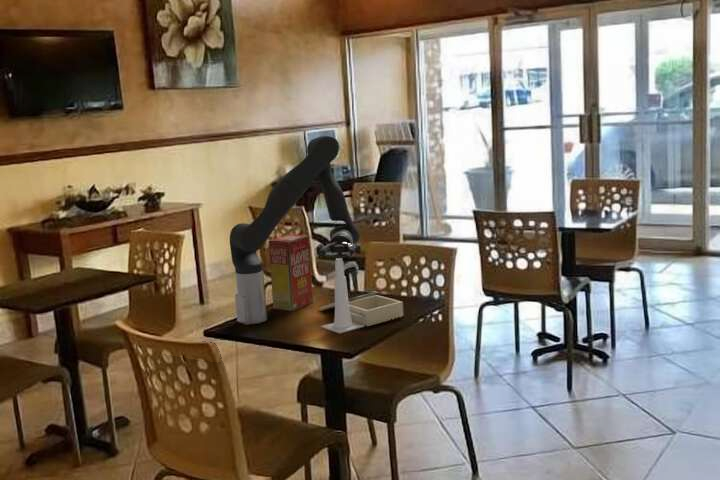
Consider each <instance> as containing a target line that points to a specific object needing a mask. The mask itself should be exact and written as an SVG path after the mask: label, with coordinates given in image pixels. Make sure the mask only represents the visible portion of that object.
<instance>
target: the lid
mask: <svg viewBox="0 0 720 480" xmlns="http://www.w3.org/2000/svg"><path fill="white" fill-rule="evenodd" d="M370 293H371V292H370ZM370 293H368V294H370ZM372 293H374V292H372ZM366 294H367V293H366ZM366 294H364V295H366ZM371 296H374V295H371ZM367 297H370V296H367ZM363 298H366V297H363ZM359 299H362V298H359ZM355 300H358V299H355ZM351 301H354V300H351ZM349 302H350V301H349ZM333 307H335V301H334V302H332V303H329V304H326V305H322V306H319V310H320V311H321V310H325V309H328V308H329V309H330V308H333Z"/></svg>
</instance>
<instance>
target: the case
mask: <svg viewBox="0 0 720 480" xmlns="http://www.w3.org/2000/svg"><path fill="white" fill-rule="evenodd" d="M371 295H373V296H371ZM367 296H369V297H367ZM363 297H366V298H363ZM359 298H362V299H359ZM355 299H358V300H355ZM351 300H354V301H351ZM348 301H350V302H349V309H350V315H351V320H352V322H356V323H359V324H362V325H364V326H366V327H369V326H373V325H377V324H381V323H384V322H387V321H391V319H392V320H395V318H396V319H398V317H399V318H402V316H403V317H404V301H401V300H398V299H394V298H390V297H386V296H382V295H379V294H377V293H376V292H374V293H373V292H370V294H369V293H366V295H365V294H362V295H357V296H354V297H348Z"/></svg>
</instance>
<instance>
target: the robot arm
mask: <svg viewBox="0 0 720 480" xmlns="http://www.w3.org/2000/svg"><path fill="white" fill-rule="evenodd" d="M339 151H340V144H339V141H338V139H336V137H334V136H333V135H327V134H325V135H320V136H318V137H316V138H313V139H311V140H310V141H309V142H308V144H307V148H306V154H307V155H306V156H305V158H304V159H303V160H302V161H300V163H298V164H297V165H295V166H294V167H293V168H292V169H290V170H289V171H288V172H286V173H285V175H284V174H283V176H282V177H281V178H280V179H279V180H278V182H277V183H276V184H275V185H273V187H272V189H271V190H270V192H269V194H268V195H267V198H266V203H265V205H264V207H263V209H262V211H260V213H259V215H258V216H257V217H256V218H255V219H253V221H252V222H251V223H245V222H241V223H237V224H235V225H234V226H233V227H232V228H231V230H230V234H229V247H230V254H231V261H232V264H233V266H234V272H235V279H236V280H235V281H236V282H235V284H236V292H237V293H236V294H235V295H234V298H235V309H236V321H237V323H238V322H239V323H241V324H243V325H255V324H260V323H261V324H262V323H263V322H264V323H265V322H266V321H267V320H268V315H267V313H268V312H267V303H266V302H267V301H266V290H265V279H264V264H263V262H262V260H261V259H260V258H259V256H258V254H257V252H258V251H260V249H261V248H262V247H263V246H264V245H265V243H266V242H267V240H268V239H269V238H270V236H271V234H272V233H273V231H274V230H275V229H276V228H277V226H278V224H279V223H280V222H281V221H282V220H283V218H285V217H286V215H287V214H288V213H289V212H290V210H291V209H293V207H294V206H295V205H296V204H297V202H298V201H299V200H300V199H301V198H302V196H303V195H304V193H305V192H306V191H307V190H308V189H309V188H310V186H311V185H312V184H313V182H314V181H315V180H316V178H317V180H318V182H319V186H320V188H321V191H322V194H323V197H324V201H325V204H326V209H327V212H328V216H329V219H330V221H332V222H344V223H345V225H342V226H339V227H334V228H332V229H331V230H330V232H329V240H330V241H329V244H328V243H327V244H325V246H324V244H322V243H319V244H318V245H317V246H316V247H315V248H316V255H317V256H322V257H323V258H325V257H327V256H334V257H336V258H345V257H347V256H350V257H353V255H355V254H356V253H357V255H360V254H361V253H362V248H361V244H362V243H361V242H359V241H360V238H361V237H360V236H361V234H360V231H359V229H358V227H357V225H356V224H355V223H354V221H353V218H352V217H351V214H350V212H349V209H348V204H347V201H346V197H345V195H344V191H343V190H342V188H341V185H340V184H339V182H338V180H337V179H336V177H335V174H334V173H333V169H332V165H331V163H332V162H333V161H334V160H335V159H336V158H337V157H338V154H339Z"/></svg>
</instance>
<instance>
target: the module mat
mask: <svg viewBox="0 0 720 480" xmlns="http://www.w3.org/2000/svg"><path fill="white" fill-rule="evenodd" d="M365 326H366V325H363V324H360V323H356V322H353V321H352V326H350V327H347V328H337V327H334V322H331V323H328V324H327V323H326V324H324V325H321V326H320V327H321V328H322V329H325V330H328V331H331V332H334V333H336V334H342V333H347V332H350V331H353V330H357V329H361V328H364V327H365Z"/></svg>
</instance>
